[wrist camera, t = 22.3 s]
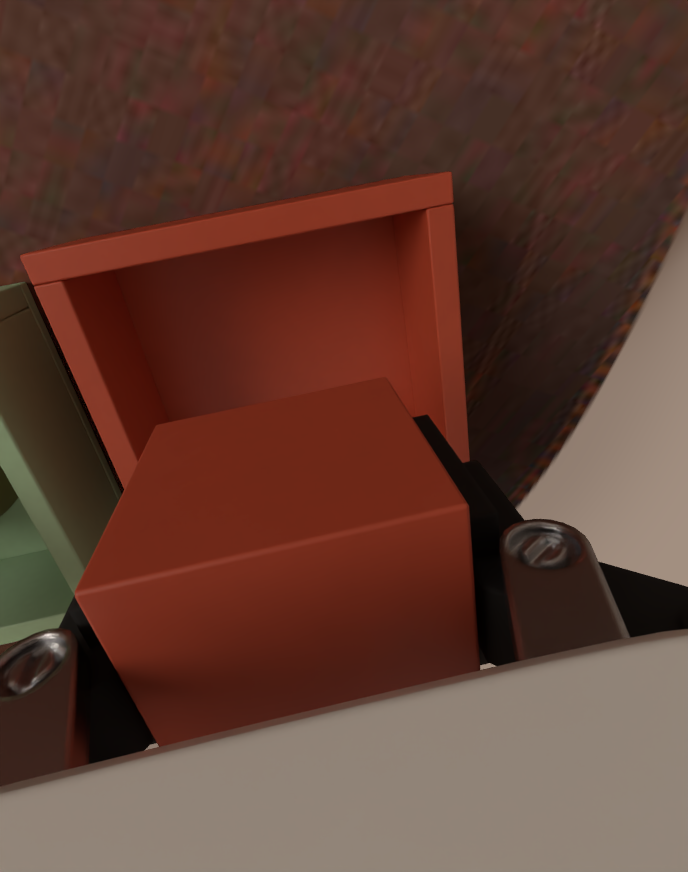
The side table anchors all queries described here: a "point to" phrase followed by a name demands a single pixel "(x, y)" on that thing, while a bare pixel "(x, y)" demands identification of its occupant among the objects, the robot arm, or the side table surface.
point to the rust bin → (263, 309)
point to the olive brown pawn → (6, 493)
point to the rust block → (283, 563)
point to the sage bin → (44, 475)
